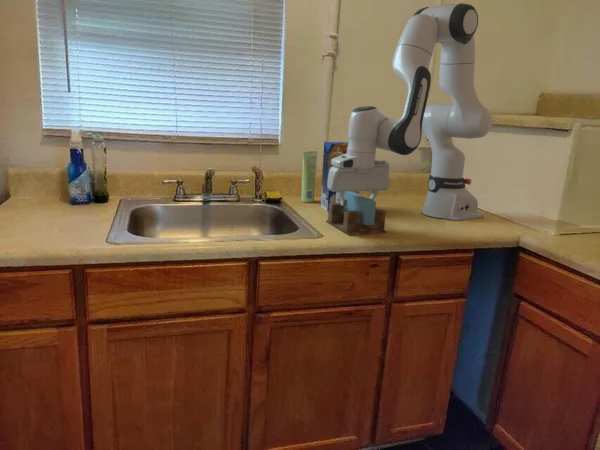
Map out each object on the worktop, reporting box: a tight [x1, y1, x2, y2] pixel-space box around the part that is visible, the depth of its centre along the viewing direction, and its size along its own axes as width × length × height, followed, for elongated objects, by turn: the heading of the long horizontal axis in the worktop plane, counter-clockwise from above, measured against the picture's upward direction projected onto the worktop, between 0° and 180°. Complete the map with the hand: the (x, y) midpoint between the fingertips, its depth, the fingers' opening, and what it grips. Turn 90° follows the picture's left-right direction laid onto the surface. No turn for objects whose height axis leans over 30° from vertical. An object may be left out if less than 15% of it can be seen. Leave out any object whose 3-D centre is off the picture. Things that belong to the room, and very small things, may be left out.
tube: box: [300, 150, 318, 203], centre depth 184 cm, size 6×5×20 cm
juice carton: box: [319, 141, 360, 212], centre depth 174 cm, size 12×8×24 cm, turn 109°
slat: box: [343, 191, 377, 225], centre depth 151 cm, size 3×17×7 cm, turn 22°
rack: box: [325, 203, 387, 236], centre depth 152 cm, size 13×16×7 cm
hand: (357, 204), depth 151 cm, fingers open, 8 cm apart
